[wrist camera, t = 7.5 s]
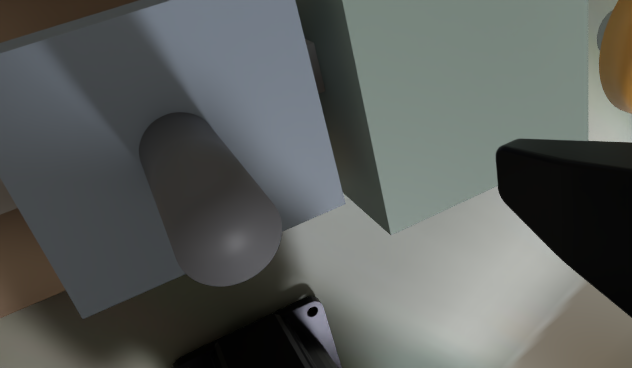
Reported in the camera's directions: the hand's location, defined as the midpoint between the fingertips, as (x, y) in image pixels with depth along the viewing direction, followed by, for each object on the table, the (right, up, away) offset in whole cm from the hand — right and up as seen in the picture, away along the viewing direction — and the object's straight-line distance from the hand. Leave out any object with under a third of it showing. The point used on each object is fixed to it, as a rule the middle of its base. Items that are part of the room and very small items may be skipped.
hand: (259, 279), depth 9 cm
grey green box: (+4, +7, +12) cm, 14 cm away
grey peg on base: (-4, +4, +9) cm, 10 cm away
